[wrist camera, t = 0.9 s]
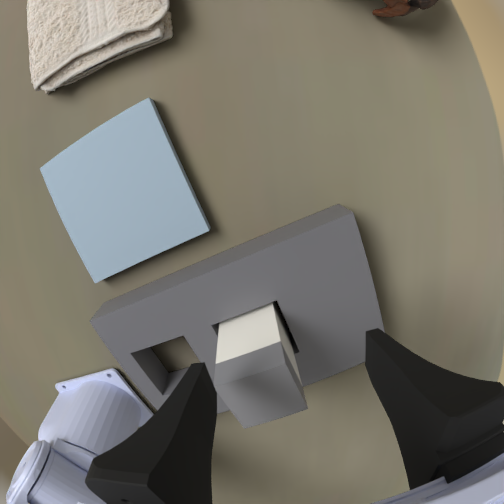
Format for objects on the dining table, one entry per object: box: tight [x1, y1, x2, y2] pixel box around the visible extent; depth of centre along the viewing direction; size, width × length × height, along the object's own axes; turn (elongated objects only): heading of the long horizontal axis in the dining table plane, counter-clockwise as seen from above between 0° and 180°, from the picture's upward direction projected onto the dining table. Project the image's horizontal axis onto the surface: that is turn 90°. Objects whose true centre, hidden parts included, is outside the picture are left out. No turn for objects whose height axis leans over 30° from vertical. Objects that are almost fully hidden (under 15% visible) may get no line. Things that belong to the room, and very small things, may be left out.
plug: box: [214, 301, 308, 428], centre depth 20 cm, size 4×4×9 cm
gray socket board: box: [90, 204, 385, 413], centre depth 23 cm, size 20×12×3 cm, turn 113°
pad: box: [40, 98, 211, 283], centre depth 20 cm, size 10×10×1 cm
